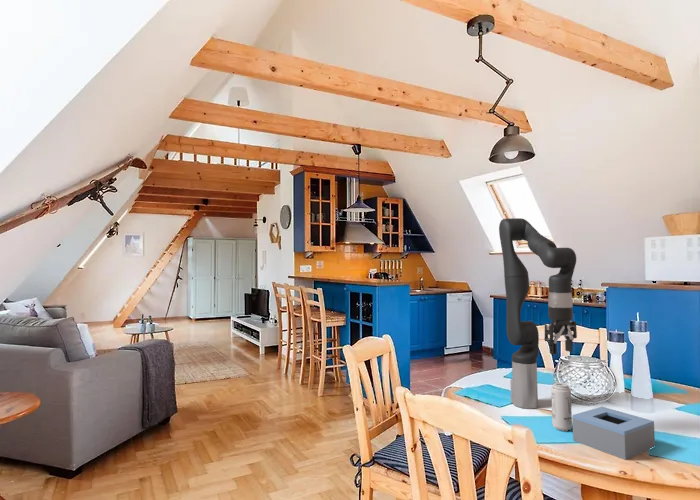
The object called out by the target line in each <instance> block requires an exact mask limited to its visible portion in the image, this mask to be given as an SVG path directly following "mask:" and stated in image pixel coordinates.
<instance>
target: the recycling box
mask: <svg viewBox="0 0 700 500" xmlns="http://www.w3.org/2000/svg"><path fill="white" fill-rule="evenodd" d="M655 436H656V435H655V421H654V420H651V419H648V418H644V417H641V416H637V415H633V414H630V413H627V412H623V411H619V410H616V409H613V408H609V407H606V406H599V407H595V408H592V409H588V410H585V411H582V412H579V413H575V414H572V441H573V442H577V443H579V444H582V445H585V446H586V447H589V448H593V449H596V450H598V451H601V452H604V453H606V454H609V455H611V456H614V457H616V458H619V459H622V460H624V461H625V460H628V459H631V458H634V457H636V456H638V455H640V454H643V453H645V452H648V451H650V450H651V449H650V448H652V447H654V446H655V447H656V439H655ZM649 449H650V450H649Z"/></svg>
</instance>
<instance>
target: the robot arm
mask: <svg viewBox="0 0 700 500" xmlns="http://www.w3.org/2000/svg"><path fill="white" fill-rule="evenodd" d="M498 233H499V234H498V235H499V240H500V247H501V252H502V253H501V254H502V258H503V259H502V260H503V275H504V288H505V299H506V327H505V328H506V336H507V340H508V342H509V343H510V344H511V345H513V346H520V347H519V349H518V350H516V351H515V352H513V353H512V355H511V370H512V377H511V379H510V403H511V404H513V405H514V406H515V407H518V408H521V409H536V408H538V407H539V397H538V396H539V392H538V366H537V364H538V362H537V361H538V356H539V344H540V343H539V341H540V340H539V339H540V338H539V329H538V326H537V324H536V323H535V322H534V321H531V320H523V321H521V317H522V316H521V314H522V308H523V305H524V302H525V300H526V298H527V296H528V294H529V291H530V279H529V272H528V270H527V267H526V266H525V264H524V262H522V260H521V259H520V258H519V256H518V255H517V253H516V251H515V247H514V242H516V241H517V242H518V241H526V242H527V247H528V249H529V250H530V251H531V252H532V253H533V254H534V255H536V256H538V257H539V259H540V261H541V262H542V264H543V265H544V266H545V267H547V268H551V269H559V272H558V273H556V274H553V275H550V276H549V278H548V296H547V298H548V299H547V300H548V301H547V302H548V303H547V304H548V305H547V306H548V307H547V308H548V310H547V311H548V319H549V320H551V323H545V324H544V341H545V342H547V343H549V345H548V346H549V354H551V355H554V356H555V355H558V344H557V342H558V340H559V339H560V338H561V337H562V336H563V338H564V339H565V340H564V341H565V342H564V345H565V346H564V347H565V349H564V350H565V351H566V352H573V341H574V340H575V339H577V338H578V334H577V333H578V332H577V321H575V320H573V318H574V315H573V312H574V310H573V309H574V308H573V307H574V306H573V294H572V279H573V275H574V272H575V267H576V265H577V254H576V252H575V250H574V249H573V248H570V247H557V245H556V243H555V242H554V241H552V240H550V239H549V238H548V237H546V236H543V235H542V234H541V233H540V232H539V231H538V230H537V229H536V228H535V227H534V226H533V225H532V224H531V223H530V222H529V221H528V220H527V219H525V218H514V217H513V218H511V217H510V218H503V219H501V220H500V222H499V225H498ZM513 241H514V242H513Z"/></svg>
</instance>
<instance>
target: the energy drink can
mask: <svg viewBox="0 0 700 500" xmlns="http://www.w3.org/2000/svg"><path fill="white" fill-rule="evenodd" d="M550 390H551V416H552V417H551V418H552V419H551V421H552V426H553V428H554V427H555V428H556V429H558V430H557V431H559V430H563V431H562V432H569V431H568V430H570V431H571V429H573V419H572V415H573V414H572V413H573V412H572V390H571V388H570V385H569V384H568V383H564V382H553V383H552V386H551V388H550ZM555 428H554V429H555ZM556 429H555V430H556Z"/></svg>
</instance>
